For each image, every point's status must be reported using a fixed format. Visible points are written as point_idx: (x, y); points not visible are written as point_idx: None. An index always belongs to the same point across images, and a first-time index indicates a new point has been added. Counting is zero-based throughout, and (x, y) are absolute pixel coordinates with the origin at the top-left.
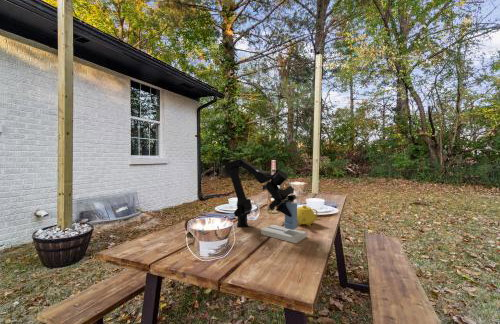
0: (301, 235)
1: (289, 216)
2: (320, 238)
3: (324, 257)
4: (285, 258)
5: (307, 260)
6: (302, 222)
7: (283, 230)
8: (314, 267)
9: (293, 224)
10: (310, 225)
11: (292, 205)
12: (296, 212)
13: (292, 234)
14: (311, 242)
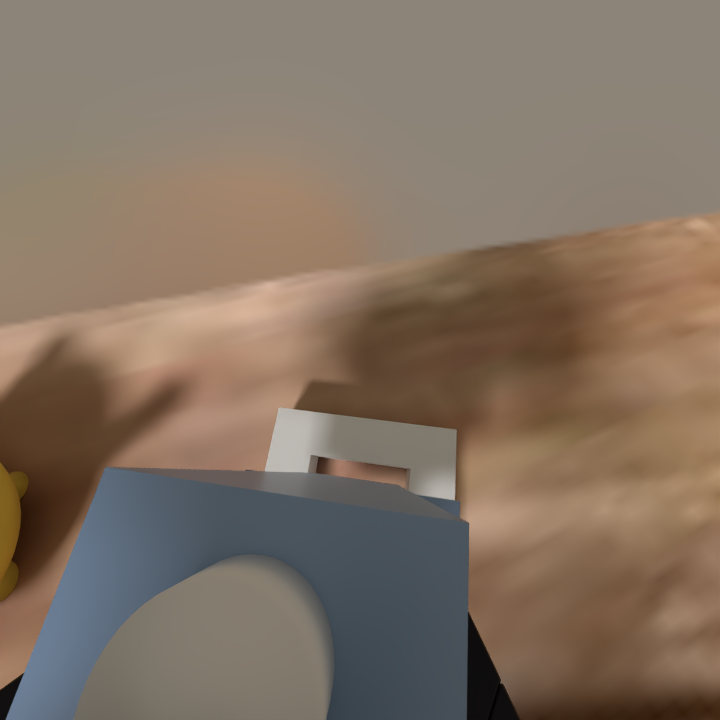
0: (362, 418)
1: None
2: (277, 328)
3: (529, 242)
4: (706, 400)
5: (624, 293)
6: (11, 538)
7: None
8: (665, 246)
9: (390, 485)
10: (14, 474)
11: (458, 545)
12: (278, 475)
13: None
14: (372, 353)
